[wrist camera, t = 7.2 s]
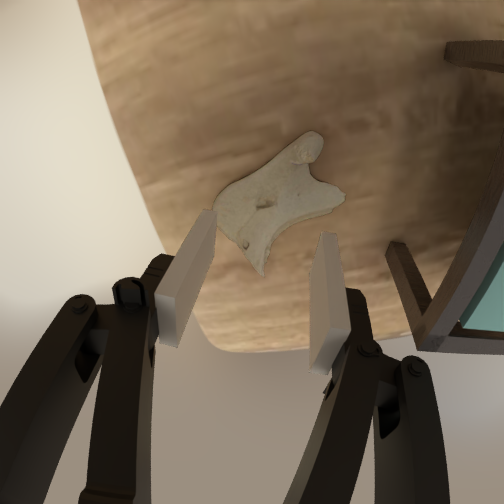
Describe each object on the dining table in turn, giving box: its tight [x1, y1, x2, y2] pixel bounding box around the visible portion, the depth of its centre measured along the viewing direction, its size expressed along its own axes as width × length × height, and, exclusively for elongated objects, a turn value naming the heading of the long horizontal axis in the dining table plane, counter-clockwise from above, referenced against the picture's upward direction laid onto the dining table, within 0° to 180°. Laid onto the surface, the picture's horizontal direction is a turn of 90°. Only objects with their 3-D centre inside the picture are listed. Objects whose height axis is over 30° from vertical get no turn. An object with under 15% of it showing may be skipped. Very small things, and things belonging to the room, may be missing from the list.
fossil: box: [212, 131, 346, 277], centre depth 23 cm, size 7×11×4 cm, turn 134°
